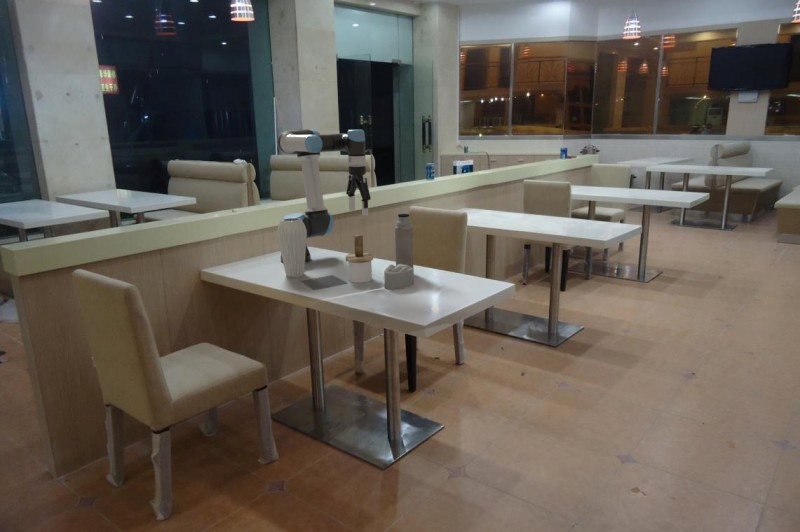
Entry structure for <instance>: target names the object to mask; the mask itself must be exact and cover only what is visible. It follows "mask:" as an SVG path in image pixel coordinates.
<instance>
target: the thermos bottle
mask: <svg viewBox="0 0 800 532" xmlns="http://www.w3.org/2000/svg"><path fill="white" fill-rule="evenodd" d="M397 219H398V220H397V221H396V223H395V225H396V226H395V227H394V237H395V238H394V240H395V241H394V243H395V245H394V247H395V249H394V250H395V266H397V265H398V264H403V265H408V266H410V267H412V268H413V276H414V273H415V272H414V271H415V270H414V268H415V267H414V226H413V225H412V221H411V220H410V214H409V213H398V215H397Z"/></svg>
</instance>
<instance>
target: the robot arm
mask: <svg viewBox="0 0 800 532" xmlns="http://www.w3.org/2000/svg"><path fill="white" fill-rule="evenodd" d="M276 145H277V149H279V151H281V153H285V154H288V155H296V156H297V159H298V160H300V163H301V171H302V178H303V185H304V193H305V200H306V206H307V208H306V209H305V210H304V213H303V212H295V213H289V214H286V215H285V216H283V217H282V218H281V220H282V219H287V218H300V219H301V220H302V221H303V223H304V224H305V227H306V230H307V237H306V239H309V238H315V237H324V236H326V235H330V234H331V233H332V232H333V229H334V223H335V222H334V217H333V214H332V213H331V212H329V211H328V208H327V207H325V203H324V196H323V187H322V181H321V173H320V166H319V158H320V156H321V153H328V152H331V153H332V152H344V151H345V152H347V157H348V158H347V161H348V165H349V166H348V181H347V185H346V192H345V193H346V195H347V197H348V210H349V212H354V211H356V190H358V191H359V194H360V196H361V216H362V217H365V216H369V201H371V200H372V199H371V198H372V197H371V194H370V190H369V185H368V178H367V177H364V175H366V174H367V167H366V164H367V163H366V162H367V161H366V137H365V131H364V130H363V129H348V130H347V133H345V132H342V133H341V132H340V133H332V134H331V133H330V134H321V133H320V132H319V131H318V130H316V129H309V128H308V129H293V130H292V129H291V130H285V131H283V132H281V133H280V134H279V135H278V136H277V139H276ZM311 259H312V255H311V253H310V250H309V248H308V245H307V244H306V253H305V263H306V262H307V263H308V262H309V261H311ZM280 262H281V263H283V259H282V255H281V254H280Z"/></svg>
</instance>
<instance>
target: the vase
mask: <svg viewBox="0 0 800 532" xmlns="http://www.w3.org/2000/svg"><path fill="white" fill-rule="evenodd" d="M276 235H277V241H278V245H279V249H280V256H281V255H282V259H283V262H282V264H283V268H284V272H285V276H286V277H288V278H298V277H299V278H300V277H302V276H304V275H305V266H306V262H305V253H306V245H307V238H306V237H307V230H306V227H305V224H304V223H303V221H302V220H301V219H300V218H287V219H282V218H281V220H280V221H279V224H278V225H277V231H276Z"/></svg>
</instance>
